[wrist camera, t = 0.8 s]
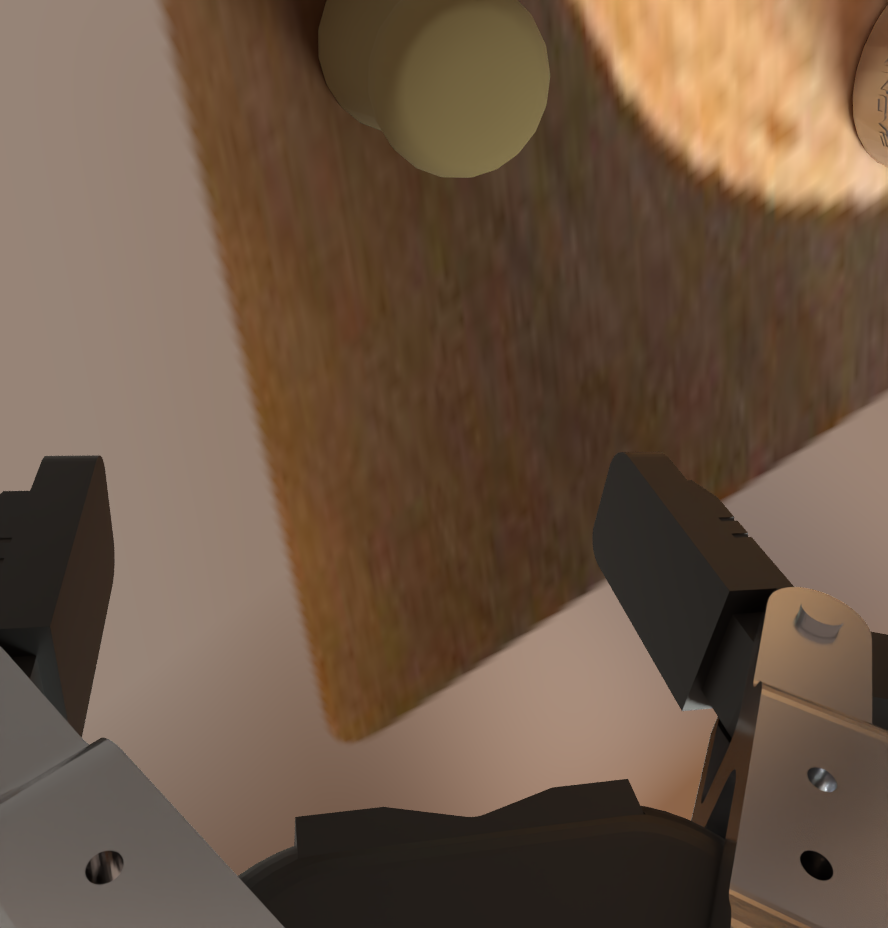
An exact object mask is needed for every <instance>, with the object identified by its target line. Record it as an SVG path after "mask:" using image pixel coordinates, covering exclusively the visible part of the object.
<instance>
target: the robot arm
mask: <svg viewBox="0 0 888 928" xmlns="http://www.w3.org/2000/svg"><path fill="white" fill-rule="evenodd" d="M853 118H854V122H855V126H856V130H857V134H858V137H859V139H860V141H861V142H862V144H863V146H864V148H865V150H866V151H867V152H868V153H869V154H870V155H871V156H872V157H873V158H874V159H875V160H876V161H877V162H878V163H880V164H882V165H884V166H886V167H888V5H887V6H886V8H885V9H884V11H883V12H882V14H881V15H880V17H879V18H878V20H877V21H876V23H875V25H874V27H873V29H872V31H871V33H870V35H869V37H868V40H867V42H866V44H865V46H864V48H863V52H862V55H861V58H860V61H859V64H858V67H857V71H856V76H855V83H854V89H853ZM593 550H594V555H595V558H596V561H597V563H598V565H599V567H600V569H601V571H602V572H603V574H604V576H605V578H606V579H607V581H608V583H609V584H610V586H611V588H612V590H613V591H614V593H615V595H616V597H617V598H618V600H619V602H620V604H621V605H622V607H623V609H624V611H625V612H626V614H627V616H628V618H629V619H630V621H631V622H632V625H633V626H634V628H635V630H636V631H637V633H638V635H639V637H640V638H641V640H642V642H643V644H644V645H645V647H646V649H647V651H648V653H649V654H650V656H651V658H652V659H653V661H654V663H655V665H656V666H657V668H658V670H659V672H660V673H661V675H662V677H663V679H664V680H665V682H666V684H667V685H668V687H669V689H670V691H671V693H672V694H673V696H674V698H675V700H676V701H677V703H678V705H679V706H680V708H681V710H682V711H687V710H698V709H709V708H713V709H714V711H715V712H716V714H717V716H718V717H717V720H716V722H715V724H714V727H713V729H712V732H711V735H710V739H709V744H708V748H707V753H706V757H705V762H704V766H703V770H702V775H701V779H700V784H699V788H698V793H697V797H696V801H695V807H694V810H693V815H692V819H691V821H690V820H688V819H685V818H683V817H680V816H677V815H674V814H671V813H669V812H666V811H662V810H657V809H654V808H649V807H645V806H640V804H639V802H638V800H637V798H636V796H635V793H634V791H633V789H632V787H631V785H630V783H629V780H628V779H624V780H615V781H606V782H597V783H589V784H580V785H571V786H563V787H554V788H550V789H548V790H545V791H543V792H540V793H538V794H535V795H533V796H530V797H528V798H525V799H523V800H520V801H518V802H515V803H512V804H510V805H507V806H505V807H503V808H500V809H497V810H495V811H492V812H490V813H487V814H485V815H482V816H478V817H462V816H454V815H446V814H438V813H428V812H421V811H413V810H404V809H396V808H387V807H380V808H370V809H362V810H353V811H345V812H335V813H327V814H318V815H309V816H301V817H295V842H294V846H293V847H290V848H288V849H286V850H283V851H281V852H278V853H276V854H274V855H272V856H270V857H268V858H266V859H265V860H263V861H261V862H259V863H257V864H255V865H254V866H252V867H251V868H249V869H248V870H246V871H245V872H243V873H242V874H240V875H239V876H237V875H236V874H235V873H234V872H233V871H232V870H231V868H230V867H229V866H228V865H227V864H226V863H225V862H224V861H223V860H222V859H221V858H220V856H218V854H217V853H216V852H215V851H214V850H213V849H212V848H211V847H210V846H209V844H208V843H207V842H206V841H205V840H204V839H203V838H202V837H201V836H200V835H199V834H198V832H197V831H196V830H195V829H194V828H193V827H192V826H191V825H190V824H189V823H188V822H187V821H186V820H185V818H184V817H183V816H182V815H181V814H180V813H179V812H178V811H177V809H176V808H174V806H173V805H172V804H171V803H170V802H169V801H168V800H167V799H166V798H165V796H164V795H163V794H162V793H161V792H160V791H159V790H158V789H157V788H156V787H155V785H154V784H153V783H152V782H151V781H150V780H149V779H148V778H147V777H146V776H145V775H144V774H143V772H142V771H141V770H140V769H139V768H138V767H137V766H136V765H135V764H134V763H133V761H132V760H131V759H130V758H129V757H128V756H127V755H126V754H125V753H124V752H123V751H122V750H121V749H120V748H119V747H118V746H117V745H116V744H115V743H113V742H112V741H110V740H109V739H106V738H100V739H99V740H97V741H96V742H93V743H92V744H90V745H89V744H88V743H86V742H85V741H84V740H83V739H82V733H83V728H84V723H85V719H86V714H87V709H88V704H89V699H90V694H91V689H92V684H93V679H94V674H95V669H96V664H97V659H98V654H99V649H100V644H101V639H102V634H103V629H104V624H105V619H106V614H107V609H108V604H109V599H110V594H111V589H112V584H113V577H114V540H113V531H112V523H111V515H110V507H109V500H108V490H107V482H106V474H105V467H104V463H103V459H102V457H101V456H45V457H44V458H43V460H42V462H41V464H40V467H39V470H38V472H37V475H36V477H35V480H34V483H33V485H32V488H31V490H30V491H3V492H2V493H1V494H0V928H888V635H886V634H880V633H875V632H870V629H869V627H868V626H867V624H866V623H865V621H864V620H863V619H862V618H861V616H860V615H858V614H857V613H856V612H855V611H854V610H853V609H852V608H850V607H849V606H848V605H846V604H845V603H843V602H841V601H840V600H838V599H836V598H834V597H832V596H830V595H827V594H825V593H822V592H819V591H816V590H813V589H807V588H801V587H794V586H793V585H792V584H791V583H790V581H789V580H788V579H787V578H786V577H785V576H784V574H783V573H782V572H781V571H780V570H779V569H778V567H777V566H776V565H775V564H774V563H773V562H772V560H771V559H770V558H769V557H768V556H767V555H766V554H765V552H764V551H763V550H762V549H761V548H760V547H759V545H758V544H757V543H756V542H755V541H754V540H753V538H751V537H748V533H747V531H746V530H745V529H744V528H743V527H742V525H740V523H739V522H738V521H734V516H733V515H732V514H731V513H730V512H729V510H728V509H727V508H726V507H725V506H724V505H723V503H722V502H721V501H720V500H719V499H718V498H717V497H716V496H715V495H713V494H712V493H710V492H709V491H707V490H706V489H704V488H703V487H701V486H699V485H698V484H696V483H695V482H693V481H692V480H687V479H686V478H685V477H684V476H683V474H682V473H681V472H680V471H679V470H678V468H677V467H676V466H675V465H674V464H673V462H672V461H671V460H670V459H669V458H668V456H667V455H666V454H664V453H662V452H620V453H617V454H616V455H615V456H614V458H613V459H612V462H611V464H610V467H609V471H608V475H607V479H606V482H605V486H604V490H603V494H602V498H601V501H600V505H599V509H598V513H597V516H596V520H595V524H594V528H593Z"/></svg>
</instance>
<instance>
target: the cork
mask: <svg viewBox="0 0 888 928" xmlns="http://www.w3.org/2000/svg"><path fill="white" fill-rule="evenodd" d="M318 55H319V61H320V64H321V68H322V71H323V74H324V78H325V81H326V84H327V86H328V88H329V89H330V91H331V92H332V94H333V95H334V97H335V98H336V100H337V101H338V103H339V104H340V106H341V107H342V108H343V109H344V110H346V111H347V112H348V113H349V114H350V115H352V116H353V117H354V118H355V119H356V120H358V121H359V122H360V123H362V124H365V125H368V126H370V127H373V128H375V129H378V130H381V131H382V132H383V133H384V135H385V136H386V138H387V140H388V141H389V143H390V144H391V146H392V147H393V148H394V150H395V151H396V152H398V153H399V154H400V155H401V156H402V157H404V158H405V159H406V160H407V161H409V162H410V163H411V164H412V165H413V166H415V167H416V168H418V169H421V170H423V171H426V172H429V173H431V174H434V175H437V176H439V177H462V178H469V177H475V176H478V175H481V174H484V173H487V172H490V171H493V170H496V169H498V168H499V167H500V166H502V165H503V164H505V163H506V162H507V161H509V160H510V159H512V158H513V157H514V156H516V155H517V154H518V153H519V152H520V151H521V150H522V148H523V147H524V146H525V144H526V143H527V142H528V141H529V139H530V138H531V137H532V135H533V134H534V133H535V131H536V129H537V127H538V124H539V122H540V119H541V117H542V115H543V112H544V110H545V107H546V105H547V97H548V89H549V81H550V70H549V63H548V56H547V50H546V45H545V43H544V41H543V38H542V36H541V34H540V32H539V30H538V28H537V26H536V23H535V21H534V19H533V17H532V16H531V14H530V13H529V12H528V11H527V10H526V9H525V8H524V6H523V5H522V4H521V3H520V2H519V1H518V0H327V1H326V4H325V7H324V11H323V14H322V18H321V21H320V25H319V28H318Z"/></svg>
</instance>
